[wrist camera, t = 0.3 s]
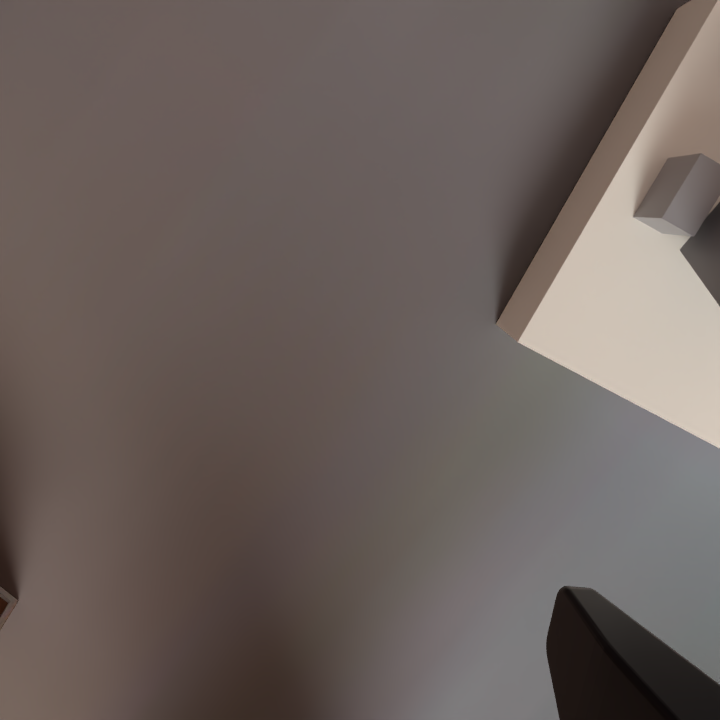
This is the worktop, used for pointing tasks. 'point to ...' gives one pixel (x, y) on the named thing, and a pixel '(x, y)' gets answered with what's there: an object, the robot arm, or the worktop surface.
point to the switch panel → (640, 242)
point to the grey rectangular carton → (706, 252)
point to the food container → (6, 605)
